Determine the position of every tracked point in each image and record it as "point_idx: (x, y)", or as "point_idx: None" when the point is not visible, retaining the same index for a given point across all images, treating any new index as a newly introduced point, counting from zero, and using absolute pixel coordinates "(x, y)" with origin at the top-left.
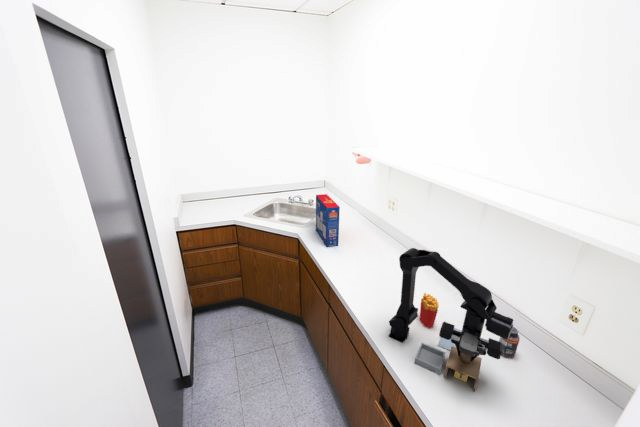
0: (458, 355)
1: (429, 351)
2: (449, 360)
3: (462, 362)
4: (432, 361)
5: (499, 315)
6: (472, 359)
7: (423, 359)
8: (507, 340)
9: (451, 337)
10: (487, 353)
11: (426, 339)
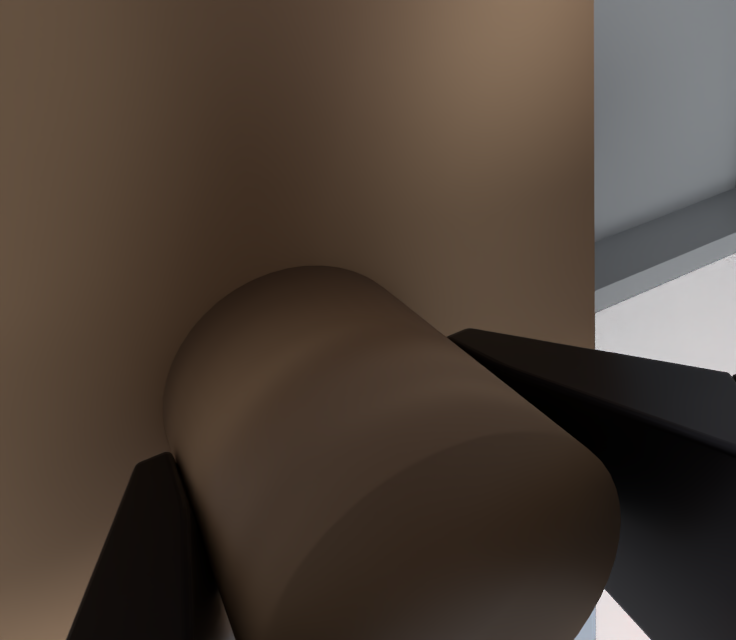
0: (478, 332)
1: (657, 211)
2: (559, 53)
3: (303, 257)
4: (596, 71)
5: None
6: (140, 514)
7: (697, 1)
8: None
9: None
10: None
11: (696, 359)
